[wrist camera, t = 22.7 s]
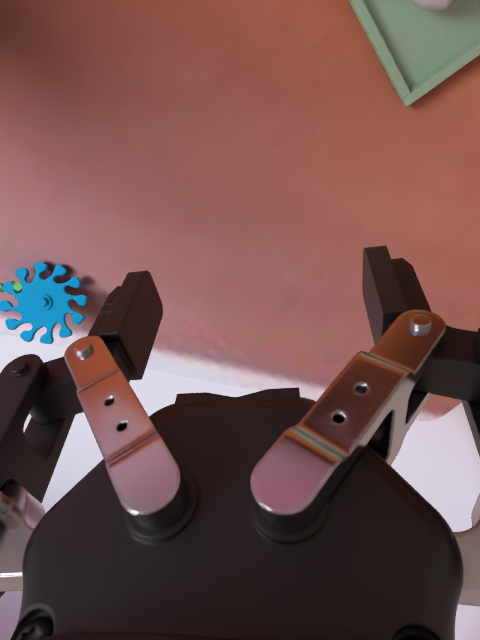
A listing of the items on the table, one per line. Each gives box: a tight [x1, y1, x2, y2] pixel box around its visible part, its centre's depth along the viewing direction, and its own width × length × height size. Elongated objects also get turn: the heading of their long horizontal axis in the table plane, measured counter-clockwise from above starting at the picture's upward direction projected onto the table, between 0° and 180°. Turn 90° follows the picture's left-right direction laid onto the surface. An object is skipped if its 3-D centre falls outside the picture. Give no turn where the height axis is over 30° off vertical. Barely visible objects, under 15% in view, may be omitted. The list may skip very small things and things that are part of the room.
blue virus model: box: [0, 262, 87, 344], centre depth 52 cm, size 11×6×10 cm
